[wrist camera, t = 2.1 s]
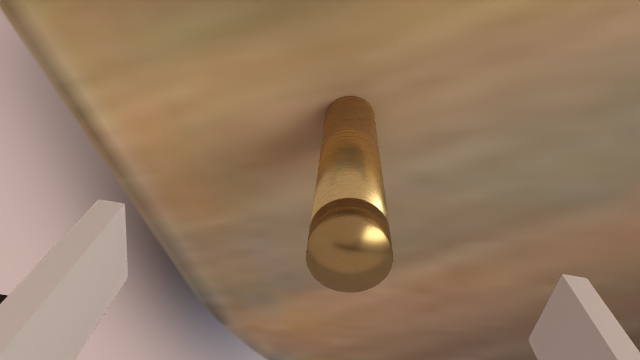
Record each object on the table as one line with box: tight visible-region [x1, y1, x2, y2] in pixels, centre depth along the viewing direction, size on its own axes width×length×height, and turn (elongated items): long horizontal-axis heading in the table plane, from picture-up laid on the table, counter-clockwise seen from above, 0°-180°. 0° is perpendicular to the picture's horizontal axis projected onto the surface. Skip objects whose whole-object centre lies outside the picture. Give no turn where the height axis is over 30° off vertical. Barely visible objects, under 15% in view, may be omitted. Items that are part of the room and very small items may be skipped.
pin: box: [306, 96, 393, 292], centre depth 21 cm, size 3×3×13 cm
